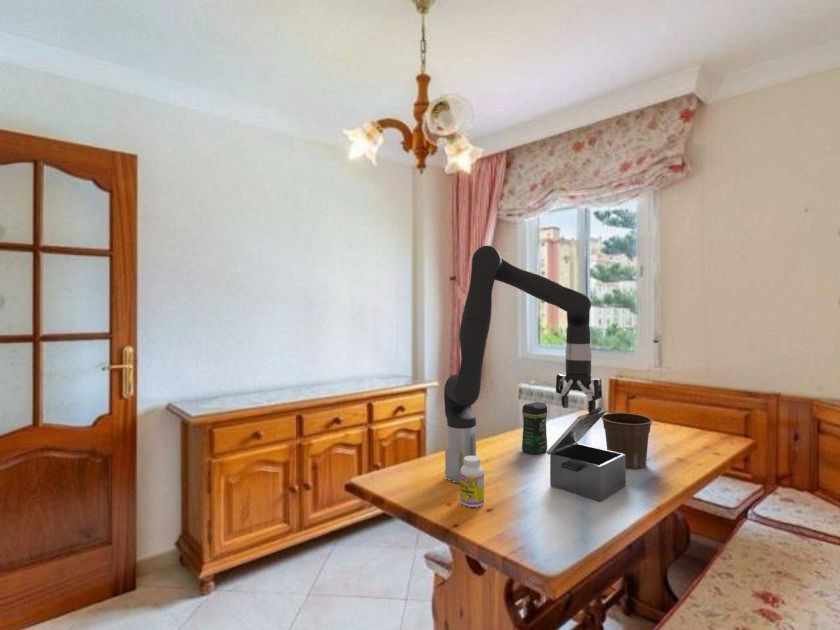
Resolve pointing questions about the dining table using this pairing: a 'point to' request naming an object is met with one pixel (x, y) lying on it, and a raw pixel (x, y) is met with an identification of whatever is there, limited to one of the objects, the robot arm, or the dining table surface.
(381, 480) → the dining table surface
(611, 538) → the dining table surface
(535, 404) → the coffee jar
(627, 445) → the plant pot
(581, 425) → the grey box lid
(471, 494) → the supplement bottle
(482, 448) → the dining table surface
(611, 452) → the dark grey storage box
